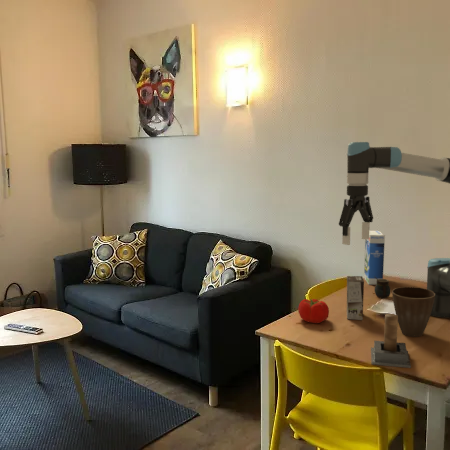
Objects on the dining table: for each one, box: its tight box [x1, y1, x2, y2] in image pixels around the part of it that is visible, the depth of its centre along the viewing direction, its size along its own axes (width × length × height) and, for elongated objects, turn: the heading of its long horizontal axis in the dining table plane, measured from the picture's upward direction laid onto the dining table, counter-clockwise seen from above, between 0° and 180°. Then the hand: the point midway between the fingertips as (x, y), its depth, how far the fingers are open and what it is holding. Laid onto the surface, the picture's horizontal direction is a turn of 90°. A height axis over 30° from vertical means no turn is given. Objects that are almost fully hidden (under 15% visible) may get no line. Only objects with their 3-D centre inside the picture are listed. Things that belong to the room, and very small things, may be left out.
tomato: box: [297, 298, 330, 324], centre depth 200 cm, size 13×12×8 cm
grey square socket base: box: [370, 340, 412, 369], centre depth 164 cm, size 12×12×4 cm
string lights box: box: [363, 230, 386, 286], centre depth 255 cm, size 13×8×26 cm, turn 174°
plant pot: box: [391, 286, 435, 338], centre depth 184 cm, size 15×15×16 cm
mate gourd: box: [374, 276, 392, 299], centre depth 230 cm, size 7×8×10 cm
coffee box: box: [346, 275, 365, 321], centre depth 204 cm, size 9×6×16 cm
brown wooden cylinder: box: [383, 313, 399, 352], centre depth 163 cm, size 4×4×14 cm
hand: (356, 241), depth 184 cm, fingers open, 13 cm apart
